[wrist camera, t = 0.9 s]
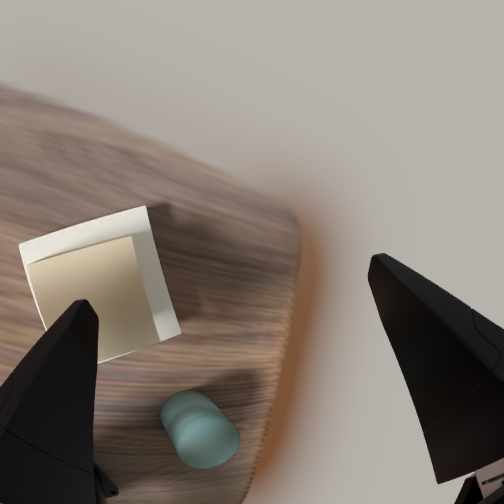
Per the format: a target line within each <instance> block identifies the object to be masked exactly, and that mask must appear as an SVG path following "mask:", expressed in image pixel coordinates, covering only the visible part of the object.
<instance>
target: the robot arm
mask: <svg viewBox="0 0 504 504" xmlns="http://www.w3.org/2000/svg"><path fill="white" fill-rule="evenodd" d="M368 282H369V285H370V288H371V291H372V294H373V297H374V300H375V303H376V306H377V309H378V312H379V316H380V319H381V321H382V324H383V327H384V329H385V331H386V333H387V336H388V338H389V341H390V343H391V346H392V348H393V350H394V353H395V355H396V358H397V360H398V363H399V366H400V368H401V371H402V373H403V376H404V379H405V381H406V384H407V387H408V389H409V392H410V395H411V398H412V401H413V403H414V406H415V409H416V412H417V415H418V418H419V421H420V424H421V427H422V431H423V432H424V433H423V434H424V438H425V441H426V444H427V448H428V451H429V455H430V458H431V462H432V465H433V469H434V473H435V476H436V481H437V483H438V484H441V483H444V482H447V481H450V480H453V479H456V478H458V477H461V476H464V475H466V474H469V473H471V472H474V471H475V473H474V474H473V475H471V476H470V477H468V478H466V479H465V482H464V484H463V486H462V488H461V491H460V493H459V495H458V497H457V499H456V501H455V503H454V504H504V329H503V328H501V327H500V326H498V325H496V324H495V323H493V322H492V321H490V320H489V319H487V318H486V317H484V316H483V315H481V314H480V313H478V312H477V311H475V310H474V309H471V307H470V306H468V305H466V304H465V303H463V302H462V301H461V300H459V299H458V298H456V297H454V296H453V295H451V294H450V293H449V292H447V291H445V290H444V289H442V288H441V287H439V286H438V285H436V284H435V283H433V282H431V281H430V280H428V279H427V278H425V277H423V276H422V275H420V274H419V273H417V272H415V271H414V270H412V269H411V268H409V267H407V266H406V265H404V264H402V263H401V262H399V261H397V260H396V259H394V258H392V257H391V256H389V255H387V254H385V253H381V254H376V255H373V256H372V258H371V262H370V267H369V272H368ZM98 337H99V318H98V315H97V313H96V312H95V310H94V309H93V307H92V306H91V304H90V303H89V301H88V300H87V299H78V300H75V301H74V302H73V303H72V304H71V305H70V306H69V307H68V308H67V309H66V310H65V311H64V312H63V314H62V315H61V316H60V317H59V318H58V319H57V320H56V321H55V322H54V323H53V324H52V326H51V327H50V328H49V329H48V330H47V331H46V332H45V333H44V335H43V336H42V337H41V338H40V339H39V340H38V341H37V343H36V344H35V345H34V346H33V347H32V348H31V350H30V351H29V352H28V353H27V354H26V356H25V357H24V358H23V359H22V360H21V362H20V363H19V364H18V365H17V367H16V368H15V369H14V370H13V372H12V373H11V374H10V375H9V377H8V378H7V379H6V381H5V382H4V383H3V384H2V386H1V387H0V504H107V502H106V498H108V497H112V496H116V495H118V494H119V492H118V489H117V488H116V487H115V485H114V484H113V483H112V482H111V481H110V480H109V479H108V478H107V477H106V476H105V474H104V473H103V472H102V471H101V470H100V469H99V467H98V466H97V465H96V464H95V463H94V461H93V421H94V400H95V387H96V376H97V365H98Z"/></svg>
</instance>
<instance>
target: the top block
mask: <svg viewBox="0 0 504 504" xmlns="http://www.w3.org/2000/svg"><path fill="white" fill-rule="evenodd" d="M27 269H28V273H29V276H30V280H31V284H32V287H33V290H34V294H35V297H36V300H37V303H38V306H39V309H40V312H41V315H42V318H43V321H44V323H45V326H46V329H47V330H48V329H49V328H50V327H51V326H52V324H53V323H54V322H55V321H56V320H57V319H58V318H59V317H60V316H61V315H62V314H63V312H64V311H65V310H66V309H67V308H68V307H69V306H70V305H71V304H72V303H73V302H74V301H75V300H78V299H87V300H88V301H89V303H90V304H91V306H92V307H93V309H94V310H95V312H96V313H97V315H98V318H99V337H98V362H100V361H104V360H107V359H110V358H113V357H117V356H120V355H123V354H126V353H129V352H132V351H135V350H138V349H141V348H144V347H147V346H150V345H153V344H156V343H159V342H161V341H160V338H159V335H158V332H157V329H156V326H155V322H154V319H153V316H152V313H151V309H150V306H149V303H148V299H147V296H146V292H145V289H144V285H143V281H142V278H141V274H140V270H139V266H138V262H137V258H136V254H135V250H134V245H133V241H132V237H131V236H128V235H123V236H119V237H115V238H111V239H107V240H104V241H100V242H96V243H93V244H89V245H85V246H82V247H78V248H75V249H71V250H68V251H64V252H61V253H57V254H54V255H51V256H47V257H44V258H41V259H39V260H37V261H35V262H33V263H31V264H28V265H27Z"/></svg>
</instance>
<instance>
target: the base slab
mask: <svg viewBox="0 0 504 504" xmlns="http://www.w3.org/2000/svg"><path fill="white" fill-rule="evenodd" d="M123 235H128V236H131V237H132V241H133V245H134V250H135V254H136V258H137V262H138V266H139V270H140V274H141V278H142V281H143V285H144V289H145V292H146V296H147V299H148V303H149V306H150V309H151V313H152V316H153V319H154V322H155V326H156V329H157V332H158V335H159V338H160V341H163V340H166V339H169V338H171V337H174V336H177V335H179V334H182V333H181V330H180V327H179V324H178V321H177V318H176V315H175V312H174V309H173V305H172V302H171V299H170V296H169V292H168V289H167V286H166V282H165V279H164V276H163V272H162V269H161V265H160V261H159V258H158V254H157V250H156V247H155V243H154V239H153V235H152V231H151V227H150V223H149V218H148V214H147V210H146V206H141V207H137V208H134V209H130V210H126V211H122V212H119V213H115V214H112V215H108V216H105V217H101V218H98V219H94V220H91V221H88V222H84V223H81V224H78V225H75V226H71V227H68V228H65V229H62V230H59V231H56V232H53V233H50V234H47V235H44V236H41V237H38V238H35V239H32V240H30V241H27V242H24V243H21V244H18V245H19V249H20V253H21V257H22V261H23V264H24V268H25V271H26V275H27V278H28V282H29V285H30V288H31V291H32V294H33V297H34V300H35V303H36V306H37V308H38V311H39V314H40V316H41V319H42V321H43V318H42V315H41V312H40V309H39V306H38V303H37V300H36V297H35V294H34V290H33V287H32V284H31V280H30V276H29V273H28V269H27V265H28V264H31V263H33V262H35V261H37V260H39V259H41V258H44V257H47V256H51V255H54V254H57V253H61V252H64V251H68V250H71V249H75V248H78V247H82V246H85V245H89V244H93V243H96V242H100V241H104V240H107V239H111V238H115V237H119V236H123ZM43 324H44V327H45V329H46V326H45V323H44V321H43ZM46 331H47V329H46ZM141 349H142V348H141ZM138 350H139V349H138ZM135 351H136V350H135ZM132 352H133V351H132ZM129 353H131V352H129ZM126 354H128V353H126ZM123 355H125V354H123ZM120 356H122V355H120ZM117 357H119V356H117ZM113 358H116V357H113ZM113 358H110V359H107V360H104V361H100V362H98V364H99V363H102V362H105V361H108V360H111V359H113Z"/></svg>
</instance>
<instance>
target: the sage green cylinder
mask: <svg viewBox="0 0 504 504" xmlns="http://www.w3.org/2000/svg"><path fill="white" fill-rule="evenodd" d="M160 416H161V421H162V424H163V426H164V428H165V430H166V432H167V434H168V436H169V438H170V440H171V442H172V444H173V446H174V447H175V449H176V451H177V453H178V455H179V457H180V459H181V460H182V462H183V463H185V464H186V465H187V466H189V467H192V468H196V469H208V468H213V467H216V466H218V465H220V464H222V463H224V462H226V461H227V460H228V459H230V458H231V457H232V456H233V455H234V453H235V452H236V451H237V449H238V447H239V443H240V435H239V432H238V430H237V429H236V428H235V427H234V426H233V424H232V423H231V422H230V421H229V420H228V419H227V418H226V417H225V416H224V414H223V413H222V412H221V411H220V410H219V409H218V408H217V406H216V405H215V404H214V403H213V402H212V401H211V399H210V398H209V397H208V396H207V395H205V394H203V393H201V392H198V391H183V392H180V393H177V394H175V395H173V396H172V397H170V398H169V399H168V400H167V401H166V402H165V404H164V405H163V407H162V409H161V415H160Z"/></svg>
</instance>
